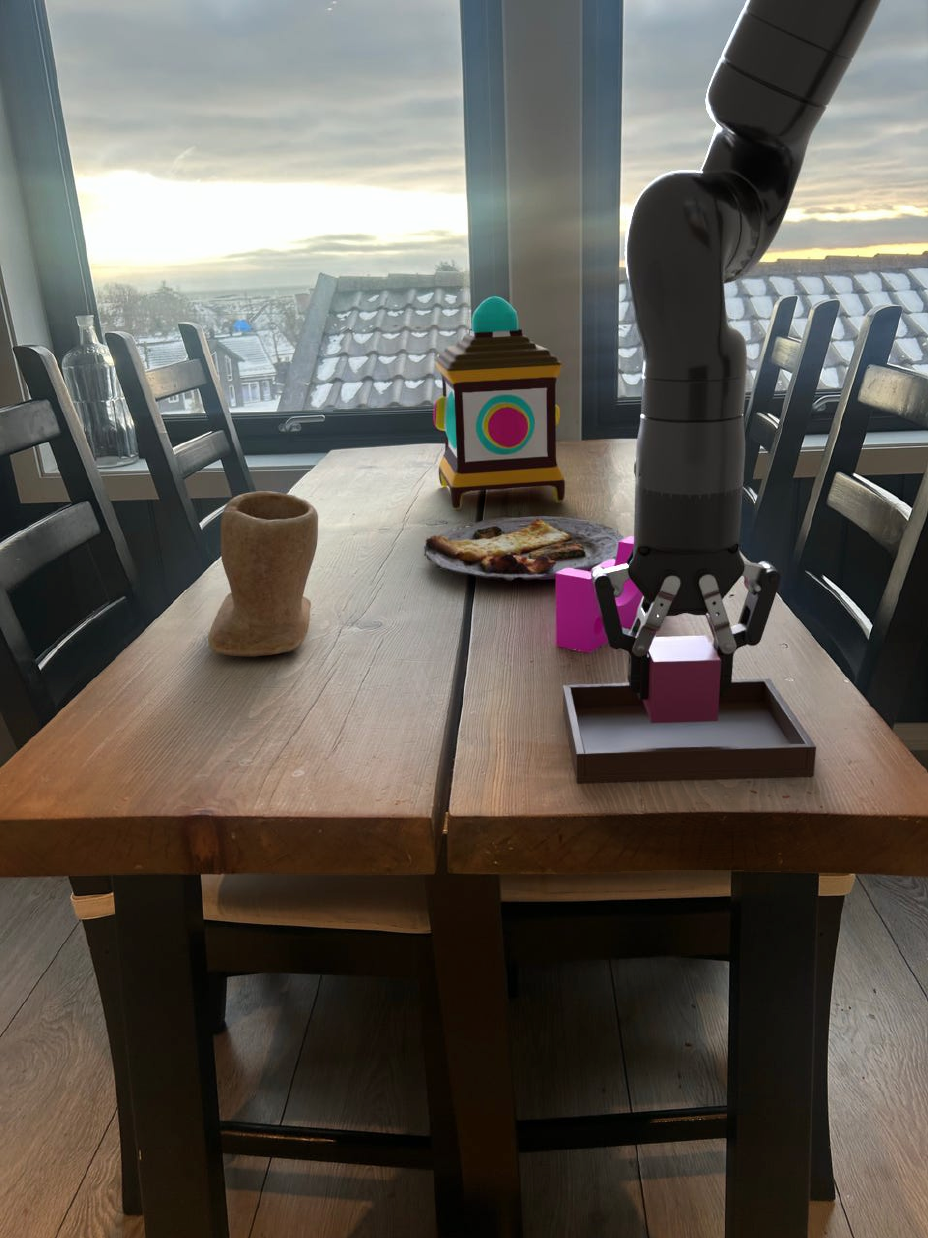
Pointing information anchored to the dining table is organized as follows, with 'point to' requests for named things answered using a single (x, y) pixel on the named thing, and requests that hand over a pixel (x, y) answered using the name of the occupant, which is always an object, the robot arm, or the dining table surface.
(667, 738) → the tray
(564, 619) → the toy block
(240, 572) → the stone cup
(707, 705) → the cube
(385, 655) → the dining table surface
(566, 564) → the food plate
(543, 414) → the decorative lantern
